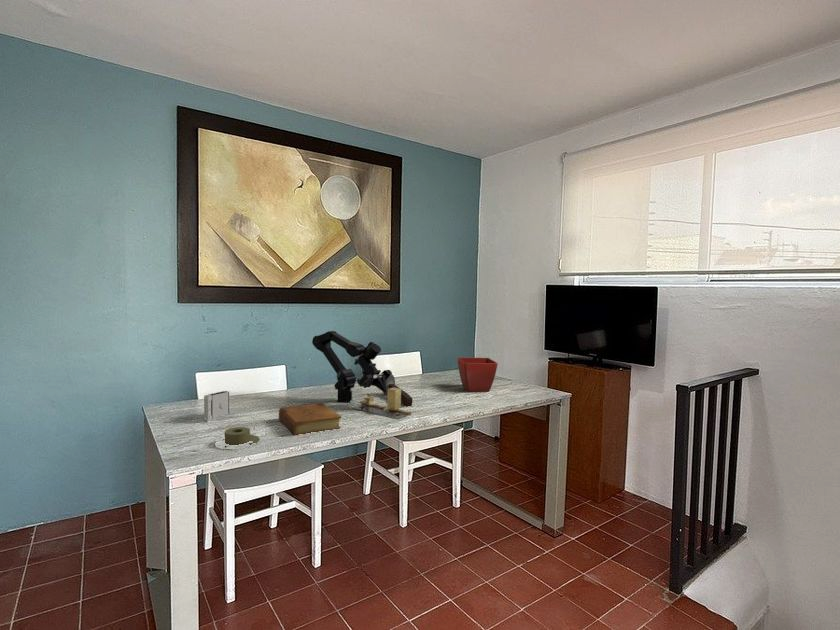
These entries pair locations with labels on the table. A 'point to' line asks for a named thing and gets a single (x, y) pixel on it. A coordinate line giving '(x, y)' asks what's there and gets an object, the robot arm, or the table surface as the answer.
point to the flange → (239, 436)
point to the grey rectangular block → (216, 404)
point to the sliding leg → (393, 399)
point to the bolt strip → (380, 411)
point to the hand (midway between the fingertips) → (385, 392)
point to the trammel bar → (369, 402)
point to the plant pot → (477, 373)
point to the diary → (309, 418)
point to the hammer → (405, 397)
